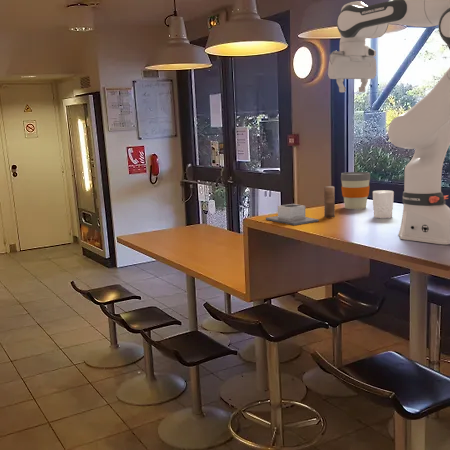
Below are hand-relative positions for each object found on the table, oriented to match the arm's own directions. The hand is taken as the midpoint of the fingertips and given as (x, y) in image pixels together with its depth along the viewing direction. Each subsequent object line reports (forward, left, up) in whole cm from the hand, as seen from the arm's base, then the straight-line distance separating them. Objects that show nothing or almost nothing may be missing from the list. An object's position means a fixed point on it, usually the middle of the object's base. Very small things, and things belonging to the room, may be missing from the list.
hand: (352, 92), depth 198 cm
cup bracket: (+21, +12, -47) cm, 53 cm away
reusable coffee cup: (+27, -28, -48) cm, 61 cm away
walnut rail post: (+17, -4, -47) cm, 51 cm away
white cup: (+2, -18, -48) cm, 51 cm away
